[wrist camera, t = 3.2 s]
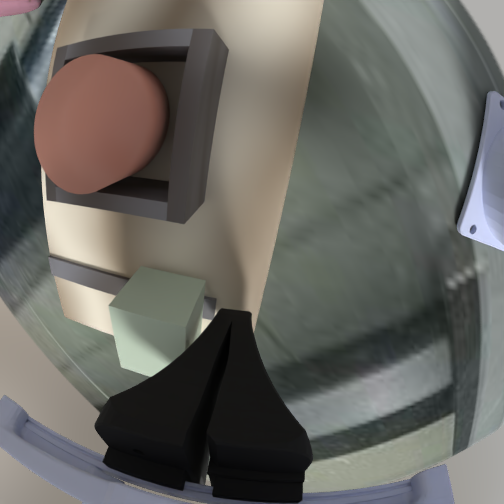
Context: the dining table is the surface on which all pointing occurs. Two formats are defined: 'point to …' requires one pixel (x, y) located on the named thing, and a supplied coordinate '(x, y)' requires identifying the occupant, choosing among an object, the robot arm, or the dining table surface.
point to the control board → (188, 150)
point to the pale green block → (156, 318)
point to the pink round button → (99, 122)
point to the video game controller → (17, 6)
